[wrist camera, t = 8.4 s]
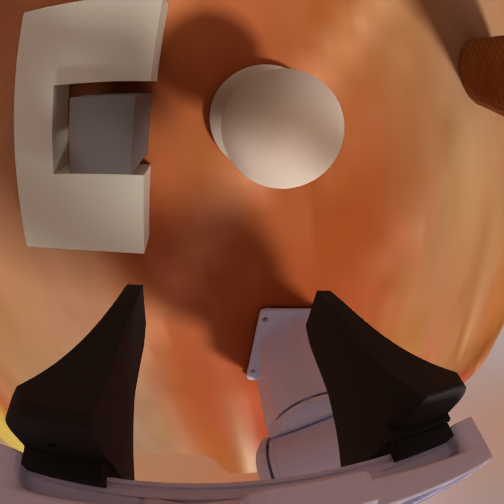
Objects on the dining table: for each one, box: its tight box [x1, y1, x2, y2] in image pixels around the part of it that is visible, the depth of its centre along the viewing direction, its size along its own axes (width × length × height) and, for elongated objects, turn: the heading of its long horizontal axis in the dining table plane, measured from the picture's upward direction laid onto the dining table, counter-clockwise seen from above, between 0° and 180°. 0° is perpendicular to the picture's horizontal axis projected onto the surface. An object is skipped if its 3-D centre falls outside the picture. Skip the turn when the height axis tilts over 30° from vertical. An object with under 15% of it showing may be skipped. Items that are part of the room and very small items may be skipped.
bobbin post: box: [210, 64, 344, 189], centre depth 17 cm, size 7×7×6 cm
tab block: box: [69, 92, 152, 174], centre depth 16 cm, size 4×4×5 cm
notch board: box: [14, 0, 169, 254], centre depth 16 cm, size 16×9×2 cm, turn 172°
